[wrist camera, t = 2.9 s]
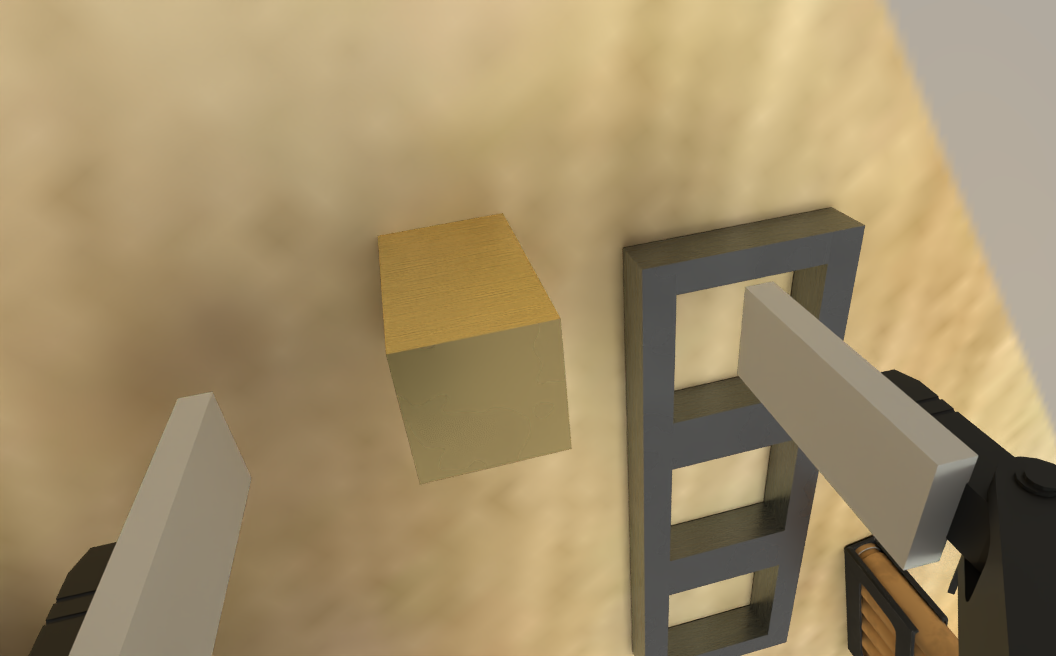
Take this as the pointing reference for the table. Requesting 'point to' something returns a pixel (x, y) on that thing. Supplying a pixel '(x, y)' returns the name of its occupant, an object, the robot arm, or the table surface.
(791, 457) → the grey slotted plate
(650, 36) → the table surface
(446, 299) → the block
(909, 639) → the ammunition clip
